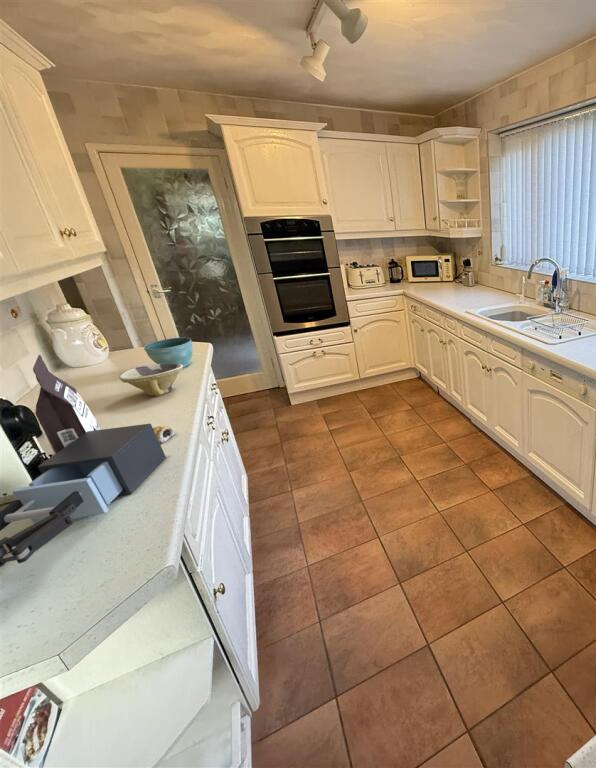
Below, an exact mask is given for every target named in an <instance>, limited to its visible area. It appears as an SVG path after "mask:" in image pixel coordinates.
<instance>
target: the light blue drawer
mask: <svg viewBox="0 0 596 768" xmlns="http://www.w3.org/2000/svg"><path fill="white" fill-rule="evenodd" d="M123 489H124V488H123V486H122V484H121V482H120V480H119V478H118V476H117V475H116V473H115V471H114V469H113V467H112V465H111V463H110V461H109V460H107V461H100V462H92V463H85V464H78V465H71V466H64V467H57V468H50V469H49V470H47V471H46V472H45V473H43V474H40V475H39V476H37V477H36V478H34V480H32V481H31V482H29V483H28V486H24V487H17V488H16V489H14V490H12V494H13V495H14V497H15V498H16V500H20V501H21V503H22V504H23V506H22V507H21V508H20V509H18V510H17V511H16V512H15V513H13V514H7V515H6V516H5V517H4V521H5V522H7V523H8V522H11V523H15V522H20V521H26V520H31V522H32V524H35V523H37V522H39V521H41V520H42V519H44V518H46V517H48V516H50V514H49V512H50V511H51V510H52V509H54V508H55V507H56V506H57V505H58V504H59V503H61V502H62V501H63V500H64V499H65V498H66V497H68V496H69V495H70V494H71V493H72V492H74V491H78V492H79V494H80V495H81V497H82V499H83V500H84V501H83V502H82V503H81V504H80V505H79V506H78V507H77V508H76V510H75V511H74V512H73V513H72V514H71V515H70V517H71V519H72V520H73V519H80V518H86V517H92V516H98V515H104V514H106V513H107V512H108V511H109V508H108V505H110V504H111V503H112V501H114V500H115V499H116V498H117V497H118V496H117V495H118V494H119V493H120V492H121V491H122V490H123ZM25 509H26V511H25V512H23V511H24V510H25Z"/></svg>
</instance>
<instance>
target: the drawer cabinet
mask: <svg viewBox="0 0 596 768" xmlns="http://www.w3.org/2000/svg"><path fill="white" fill-rule="evenodd" d="M153 428H154V427H153V425H152V423H144V424H135V425H128V426H120V427H119V426H118V427H112V428H103V429H101V430H95V431H87V432H86V433H85V434H83V435H82V436H80V437H79V438H77V439H76V440H75V441H73V442H72V443H70V444H69V445H67V446H66V447H65V448H63V449H62V450H60V451H59V452H57V453H56V454H53V455H52V456H50V457H49V458H47V459H46V460H44V461H43V462H42V463H40V464H39V465H38V466H37V469H38V470H39V472H40V475H42V474H43V473H45V472H46V471H47V470H49V469H50V468H57V467H64V466H71V465H78V464H85V463H92V462H100V461H107V460H109V461H110V463H111V465H112V467H113V469H114V471H115V473H116V475H117V476H118V478H119V480H120V482H121V484H122V486H123V488H124V489H123V490H122V491H121V492H120V493H119V494H118V495H117V496H116V497H122V496H128V495H132V494H133V493H134V492H135V491H136V490H138V488H139V487H141V485H142V484H143V483H144V482H145V481H146V479H147V478H148V477H150V476H151V474H152V473H153V472H154V471H155V470H156V469H157V468H158V467H159V466H160V465H161V464H162V463H163V462H164V460H166V459H167V456H166V454H165V452H164V450H163V448H162V446H161V443H159V441H158V439H157V436H156V434H155V432H154V430H153Z"/></svg>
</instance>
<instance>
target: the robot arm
mask: <svg viewBox="0 0 596 768" xmlns="http://www.w3.org/2000/svg"><path fill="white" fill-rule="evenodd" d="M83 501H84V500H83V499H82V497H81V495H80V494H79V492H78V491H74V492H72V493H71V494H70V495H69V496H68V497H66V498H65V499H64V500H63V501H62V502H61V503H59V504H58V505H57V506H56V507H55V508H54V509H52V510H51V511H50V512H49V514H50V516H48V517H46V518H44V519H42V520H41V521H39V522H37V523H35V524H34V523H32V524H31V525H30V526H28V527H26V528H24V529H23V530H21V531H18V532H17V533H15V534H13V535H12V536H10V537H3V538H1V539H0V568H2V567H3V566H4V565H6V564H7V563H8V562H9V563H10V562H14V561H17V563H18V564H23V563H25V562H26V561H28V560H29V559H30V558H31V557H32V556H33V555H34V553H35V552H37V551H38V550H40V549H41V548H42V547H43V546H45V545H47V544H48V543H49V542H51V541H52V540H53V539H54V538H56V537H57V536H58V535H60V534H61V533H63V532H64V531H65V530H67V529H68V528H69V527H71V526H72V525H73V524H74V523H75V522H74V521H73V519H71V517H70V515H71V514H72V513H73V512H74V511H75V510H76V508H77V507H78V506H79V505H80V504H81V503H82V502H83ZM22 506H23V504H22V503H21V501H20V500H17V499H16V500H13V501H12V502H11V503H9V504H8V505H7V506H5V507H4V508H3V509H2V510H0V532H2V530H4V529H5V528H6V527H7V526H9V525H10V524H11V523H12V522H8V523H7V522H5V521H4V517H5V516H6V515H7V514H13V513H15V512H16V511H17V510H18V509H20V508H21V507H22ZM25 511H26V509H25V510H24V511H23V512H25ZM4 545H5V546H4ZM6 548H7V549H8V550H7V549H6Z"/></svg>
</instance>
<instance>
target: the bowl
mask: <svg viewBox="0 0 596 768" xmlns="http://www.w3.org/2000/svg"><path fill="white" fill-rule="evenodd" d="M183 369H184V367H183V365H182V364H176V363H162V364H157V363H154V364H148V365H142V366H138V367H137V366H136V367H134V368H130V369H128V370H126V371H124V372H123V373H121V374H120V375H119V376H118V379H119V380H120V381H121V382H122V383H127V384H129V385H131V386H133V387H135V388H137V389H139V390H141V391H143V392H144V393H146V394H147V395H148V396H152V397H154V396H158V397H159V396H162V395H165V394H167V393H171V392H172V390H173V384H174V383H175V381H176V379H177V378H178V375H179V374H180V372H181V371H182V370H183Z"/></svg>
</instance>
